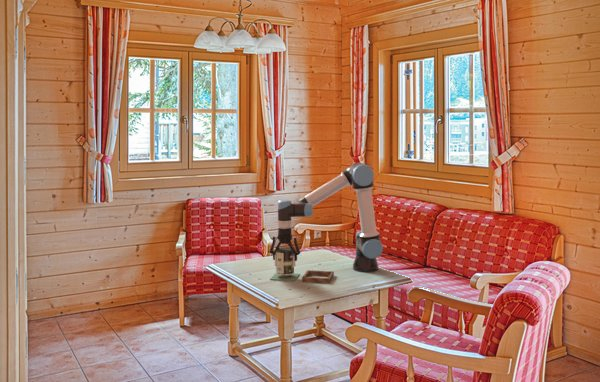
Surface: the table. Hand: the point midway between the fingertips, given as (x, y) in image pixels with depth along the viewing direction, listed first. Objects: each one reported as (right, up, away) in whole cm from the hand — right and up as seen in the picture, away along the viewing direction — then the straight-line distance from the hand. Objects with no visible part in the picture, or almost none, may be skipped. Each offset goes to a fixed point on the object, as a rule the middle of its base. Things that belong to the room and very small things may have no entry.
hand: (285, 265), depth 334 cm
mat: (0, -7, +1) cm, 7 cm away
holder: (+19, -7, -2) cm, 20 cm away
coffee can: (0, -4, +1) cm, 4 cm away
